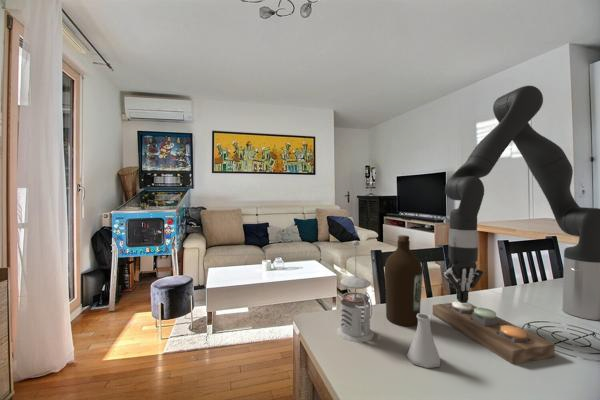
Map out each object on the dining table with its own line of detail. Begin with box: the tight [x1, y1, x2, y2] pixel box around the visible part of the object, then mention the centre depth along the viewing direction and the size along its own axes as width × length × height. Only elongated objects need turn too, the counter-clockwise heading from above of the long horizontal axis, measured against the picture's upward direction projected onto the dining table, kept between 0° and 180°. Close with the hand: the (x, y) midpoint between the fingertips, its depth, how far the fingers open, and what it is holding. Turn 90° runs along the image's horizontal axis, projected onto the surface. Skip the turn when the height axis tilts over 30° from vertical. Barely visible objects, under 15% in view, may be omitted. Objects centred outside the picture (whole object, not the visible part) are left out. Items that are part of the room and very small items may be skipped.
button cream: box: [451, 300, 473, 314], centre depth 84 cm, size 5×5×4 cm
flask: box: [406, 312, 441, 369], centre depth 64 cm, size 7×7×10 cm
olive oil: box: [384, 234, 424, 327], centre depth 84 cm, size 11×11×25 cm
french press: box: [336, 240, 374, 343], centre depth 76 cm, size 10×12×25 cm
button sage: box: [472, 307, 498, 327], centre depth 77 cm, size 5×5×4 cm
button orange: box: [499, 325, 528, 343], centre depth 69 cm, size 5×5×4 cm
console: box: [432, 302, 556, 365], centre depth 77 cm, size 12×26×3 cm, turn 13°
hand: (462, 302), depth 84 cm, fingers closed
